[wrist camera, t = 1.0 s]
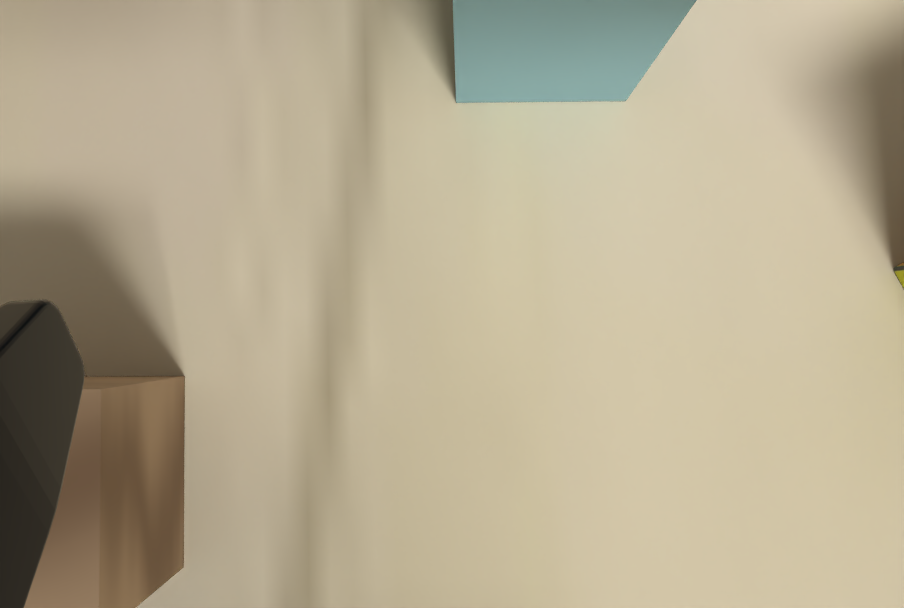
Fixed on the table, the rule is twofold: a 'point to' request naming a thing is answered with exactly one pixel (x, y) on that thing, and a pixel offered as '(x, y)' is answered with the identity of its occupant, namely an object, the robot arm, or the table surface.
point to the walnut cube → (118, 497)
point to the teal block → (558, 47)
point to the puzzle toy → (900, 273)
